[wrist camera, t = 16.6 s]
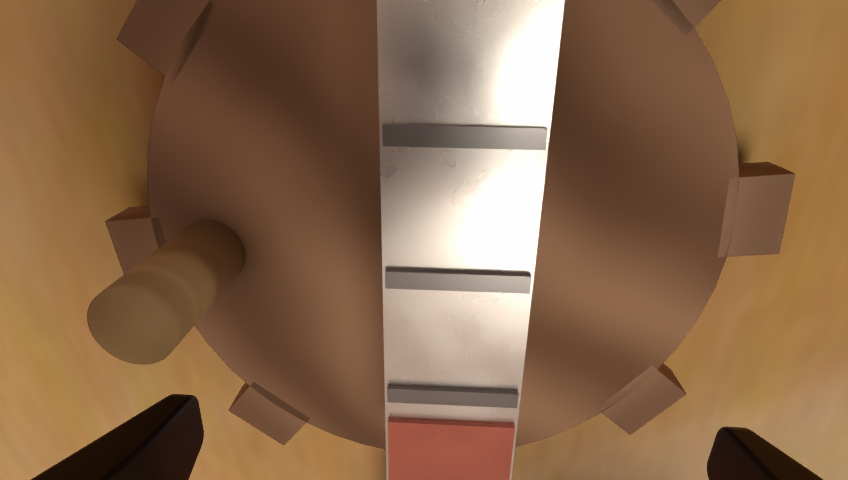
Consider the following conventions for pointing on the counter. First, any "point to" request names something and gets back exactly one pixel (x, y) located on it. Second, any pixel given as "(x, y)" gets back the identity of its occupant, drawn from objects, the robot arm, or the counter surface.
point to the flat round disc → (361, 211)
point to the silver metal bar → (460, 223)
